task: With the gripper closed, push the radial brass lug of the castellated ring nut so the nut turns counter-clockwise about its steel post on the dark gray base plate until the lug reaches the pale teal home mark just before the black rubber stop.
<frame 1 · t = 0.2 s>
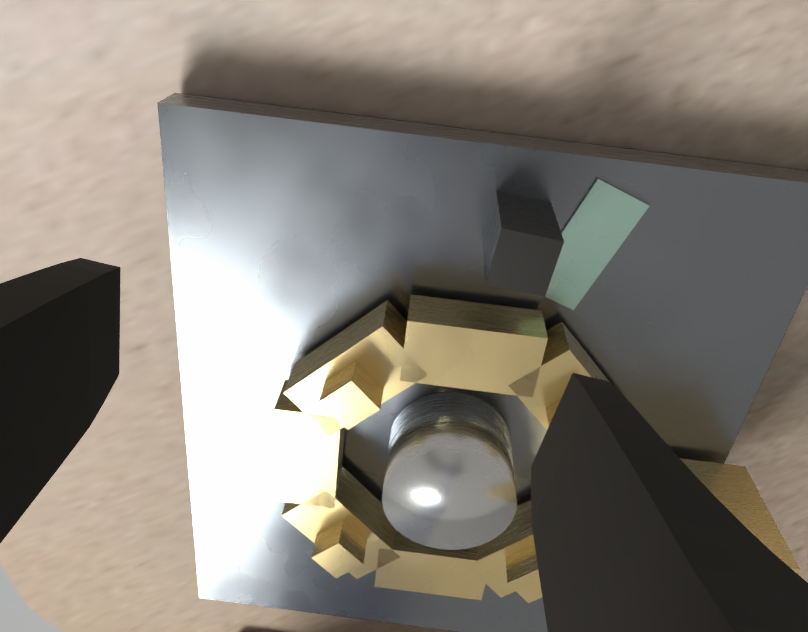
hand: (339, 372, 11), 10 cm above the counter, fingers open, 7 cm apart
dark gray base plate: (450, 418, 23), on the counter
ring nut: (514, 499, 20), point 4 cm above the counter, hinge at 0.0°
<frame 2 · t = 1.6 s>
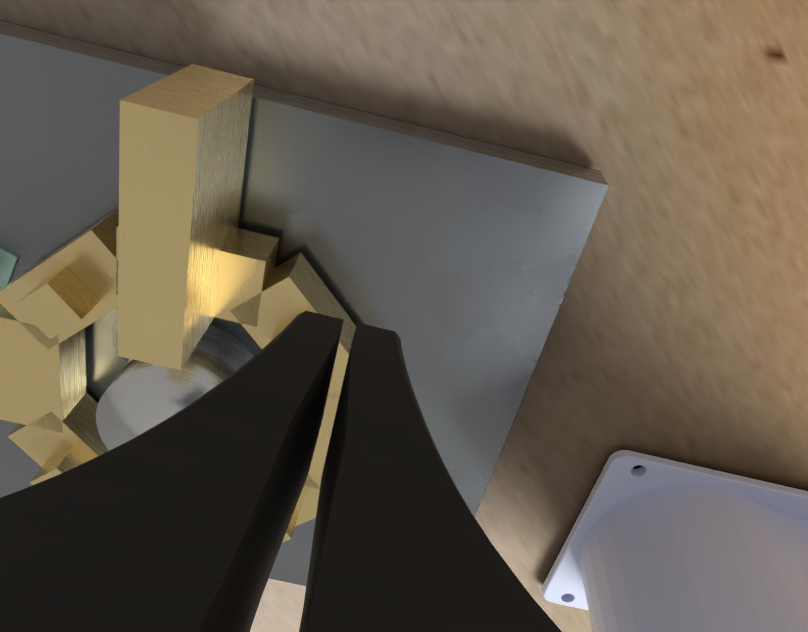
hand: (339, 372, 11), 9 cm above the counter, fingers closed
dark gray base plate: (212, 354, 22), on the counter
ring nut: (177, 366, 18), point 4 cm above the counter, hinge at 0.0°
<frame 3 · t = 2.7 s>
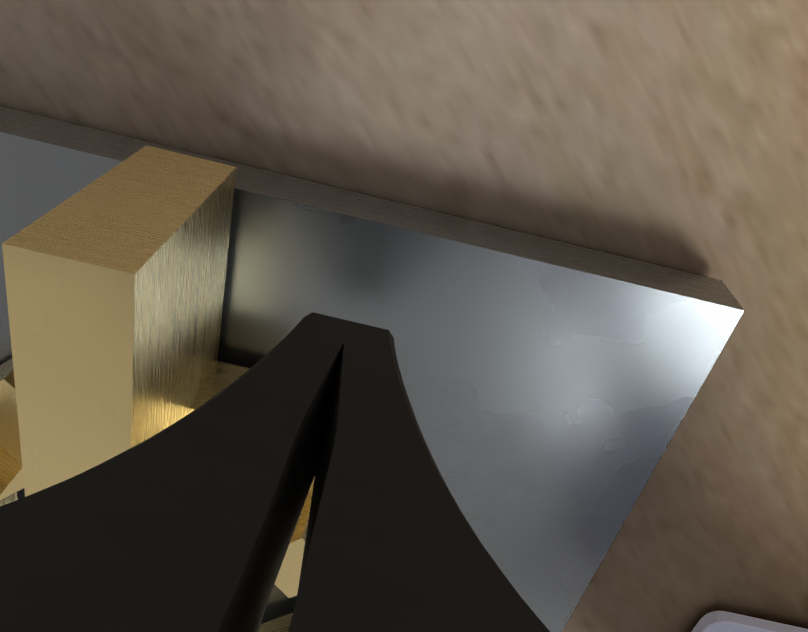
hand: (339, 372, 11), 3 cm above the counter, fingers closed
dark gray base plate: (189, 494, 17), on the counter
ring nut: (132, 553, 13), point 4 cm above the counter, hinge at 0.0°
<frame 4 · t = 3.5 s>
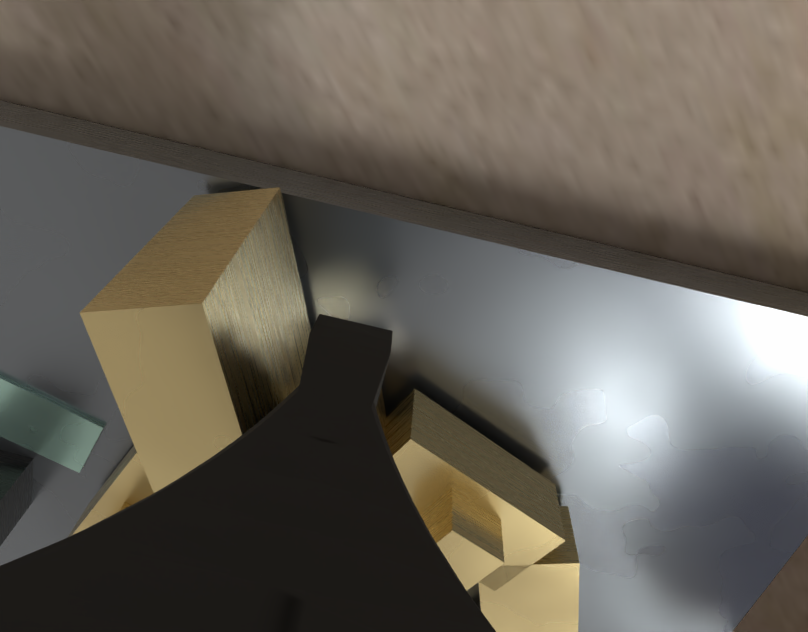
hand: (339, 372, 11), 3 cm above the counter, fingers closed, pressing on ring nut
dark gray base plate: (341, 523, 17), on the counter
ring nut: (299, 588, 13), point 3 cm above the counter, hinge at 19.5°, touching gripper
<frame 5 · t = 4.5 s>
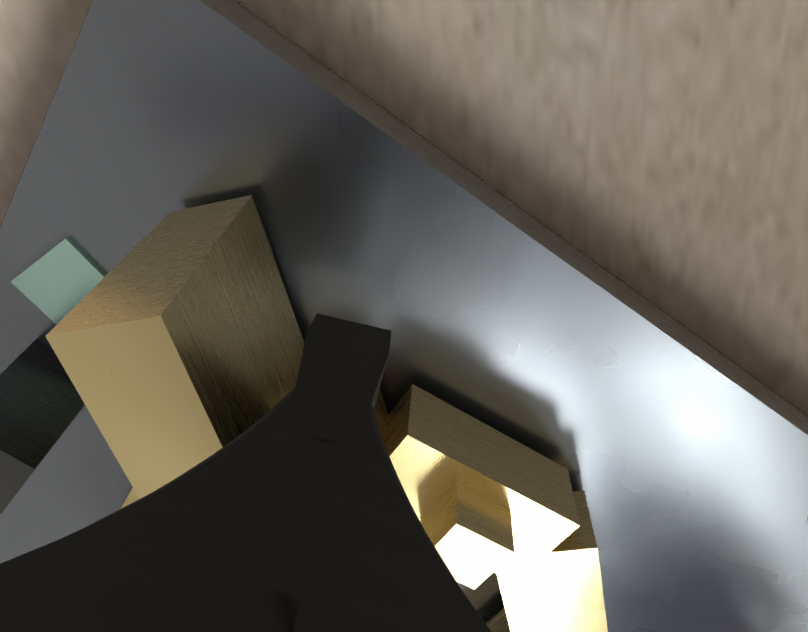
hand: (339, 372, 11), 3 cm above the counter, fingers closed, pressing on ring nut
dark gray base plate: (363, 526, 17), on the counter
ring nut: (316, 593, 13), point 4 cm above the counter, hinge at 48.0°, touching gripper
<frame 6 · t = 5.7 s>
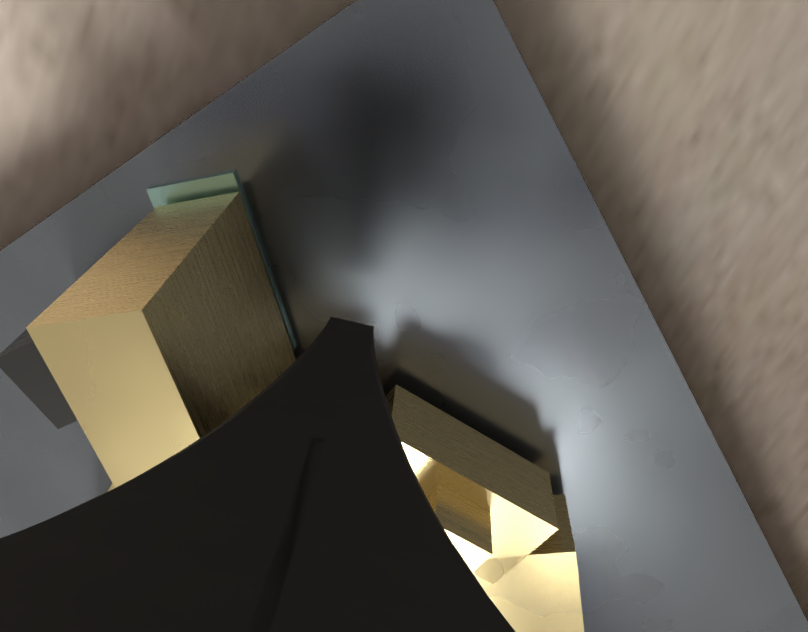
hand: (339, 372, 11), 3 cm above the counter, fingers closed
dark gray base plate: (345, 525, 17), on the counter
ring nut: (295, 591, 13), point 4 cm above the counter, hinge at 69.4°, touching gripper
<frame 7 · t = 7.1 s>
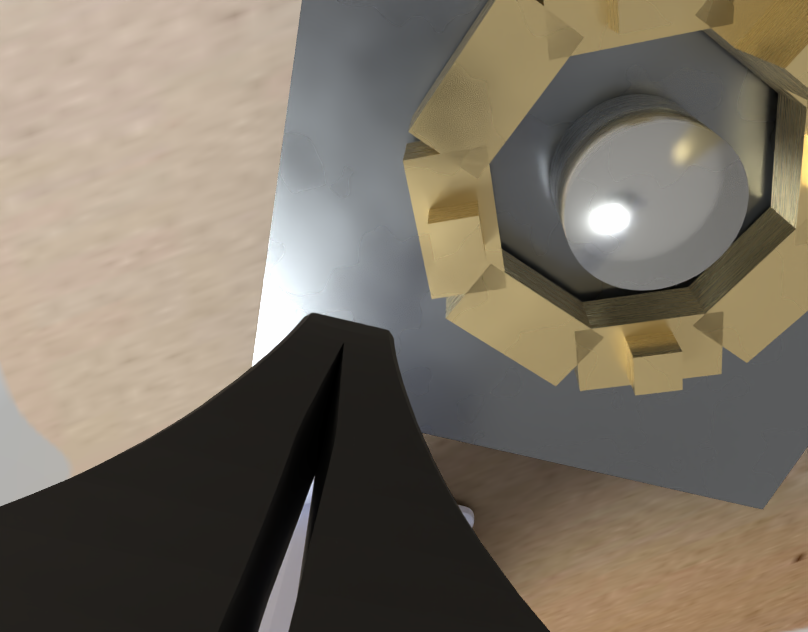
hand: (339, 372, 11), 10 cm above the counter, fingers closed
dark gray base plate: (617, 159, 18), on the counter
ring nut: (714, 132, 14), point 4 cm above the counter, hinge at 69.6°
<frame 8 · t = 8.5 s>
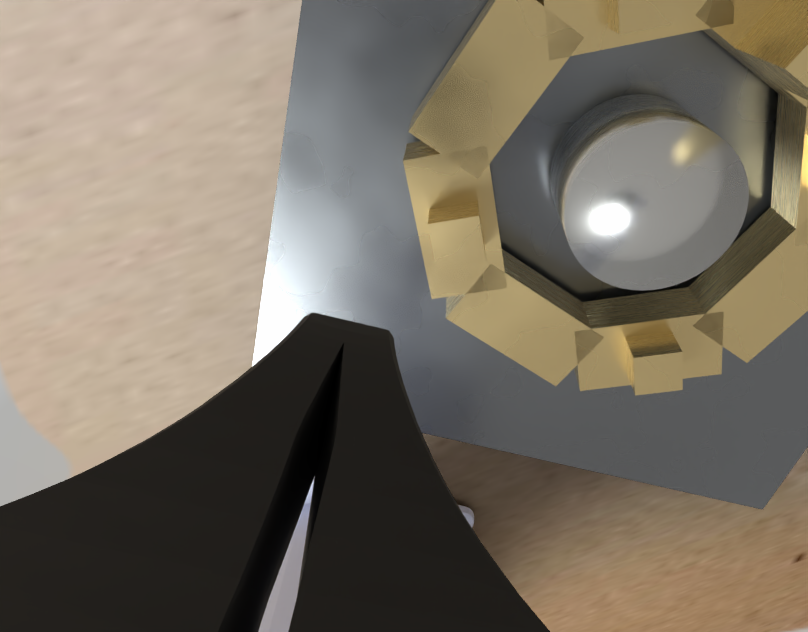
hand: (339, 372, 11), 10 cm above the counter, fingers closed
dark gray base plate: (617, 159, 18), on the counter
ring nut: (714, 132, 14), point 4 cm above the counter, hinge at 69.6°
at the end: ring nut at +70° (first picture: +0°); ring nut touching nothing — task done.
